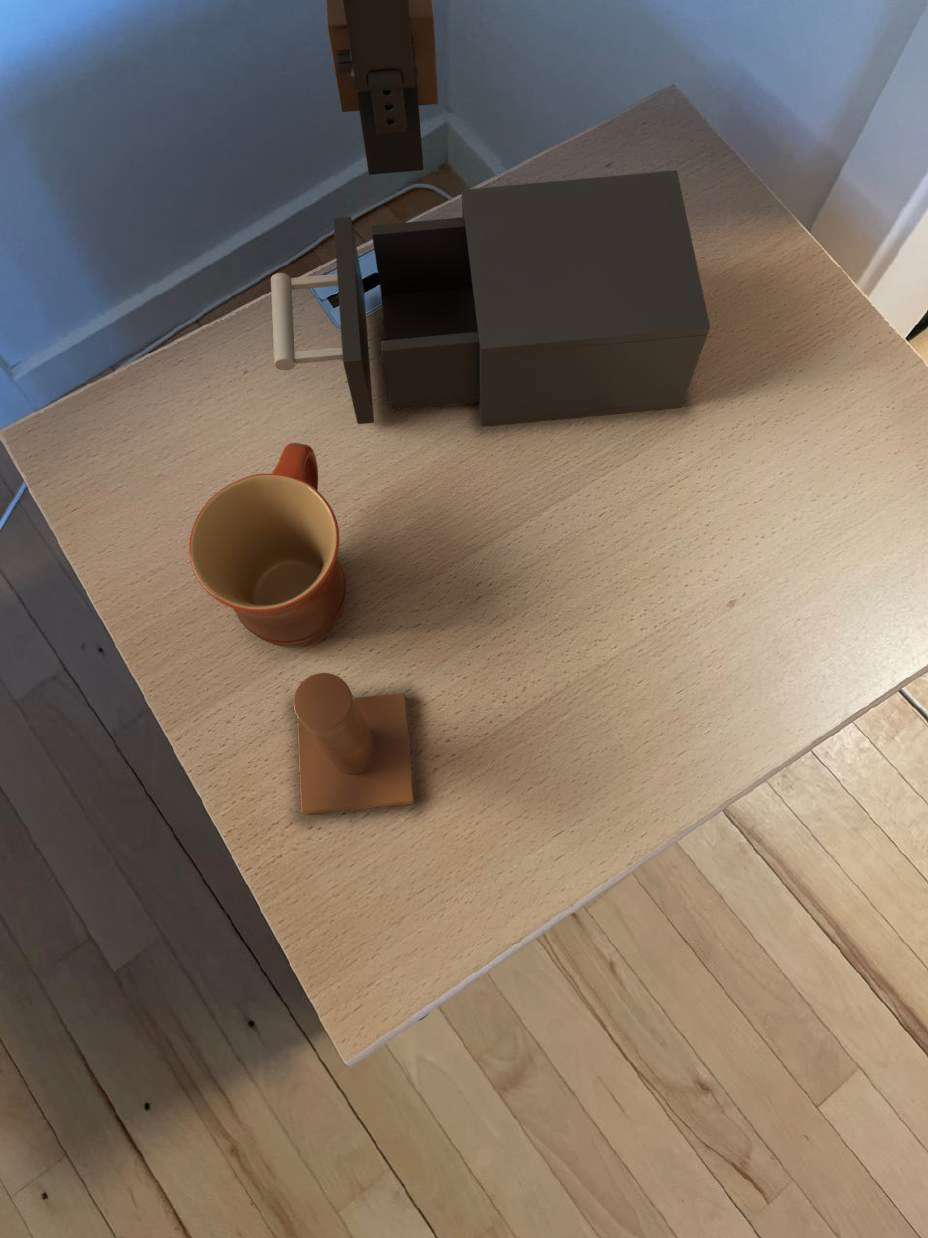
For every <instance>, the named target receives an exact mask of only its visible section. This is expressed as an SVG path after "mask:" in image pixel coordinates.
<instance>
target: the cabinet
mask: <svg viewBox="0 0 928 1238" xmlns="http://www.w3.org/2000/svg"><path fill="white" fill-rule="evenodd" d="M461 217H464V220H465V229H466V237H467V245H468V254H469V262H470V270H471V279H472V287H473V295H474V303H475V312H476V320H477V328H478V337H479V345H480V402H477V404H478V413H479V414H478V415H479V421H480V422H479V423H480V427H488V426H490V427H491V426H501V425H502V426H503V425H510V424H522V423H523V424H524V423H531V422H541V421H542V422H543V421H552V420H553V421H554V420H563V419H573V418H584V417H585V418H586V417H595V416H606V415H617V414H625V413H637V412H649V411H657V410H668V409H680V408H682V406H683V405H684V402H685V399H686V396H687V393H688V390H689V387H690V384H691V382H692V379H693V376H694V373H695V371H696V368H697V365H698V362H699V359H700V357H701V355H702V351H703V349H704V345H705V343H706V340H707V338H708V334H709V332H710V329H711V325H710V320H709V315H708V311H707V306H706V300H705V296H704V292H703V286H702V281H701V277H700V273H699V268H698V263H697V258H696V254H695V249H694V243H693V240H692V239H693V238H692V235H691V230H690V226H689V220H688V216H687V210H686V207H685V202H684V198H683V192H682V187H681V183H680V178H679V173H678V170H677V169H674V170H673V169H672V170H662V171H654V172H653V171H652V172H641V173H640V172H639V173H630V174H620V175H619V174H618V175H609V176H607V175H606V176H597V177H588V178H587V177H586V178H576V179H563V180H554V181H544V182H543V181H542V182H532V183H521V184H520V183H519V184H509V185H499V186H489V187H487V186H486V187H477V188H476V187H475V188H466V189H461Z"/></svg>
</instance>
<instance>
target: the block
mask: <svg viewBox="0 0 928 1238" xmlns="http://www.w3.org/2000/svg"><path fill="white" fill-rule="evenodd" d="M408 3H409V16H410V28H411V41H412V43H414V47H415V64H417V72H418V77H417V91H418V104H419V106H431V105H438V104H439V88H438V72H437V71H438V70H437V51H436V34H435V33H436V31H435V16H434V15H435V14H434V6H433V0H408ZM325 10H326V25H327V32H328V39H329V44H330V45H329V46H330V50H331V55H332V62H333V63H332V64H333V68H334V75H335V80H336V85H337V91H338V97H339V103H340V110H341V112H342V113H349V112H360V111H359V104H358V97H357V91H356V89H355V86H354V83H352V78H351V73H348V74H338V70H337V51H336V50H348V49H350V43H349V37H348V30H347V23H346V16H345V10H344V3H343V0H325Z"/></svg>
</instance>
